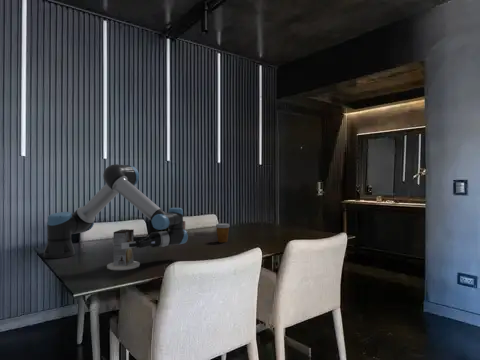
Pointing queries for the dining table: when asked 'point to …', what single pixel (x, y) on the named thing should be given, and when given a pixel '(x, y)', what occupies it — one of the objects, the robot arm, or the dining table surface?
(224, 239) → the disposable coffee cup
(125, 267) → the plate
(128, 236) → the coffee box
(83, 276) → the dining table surface
